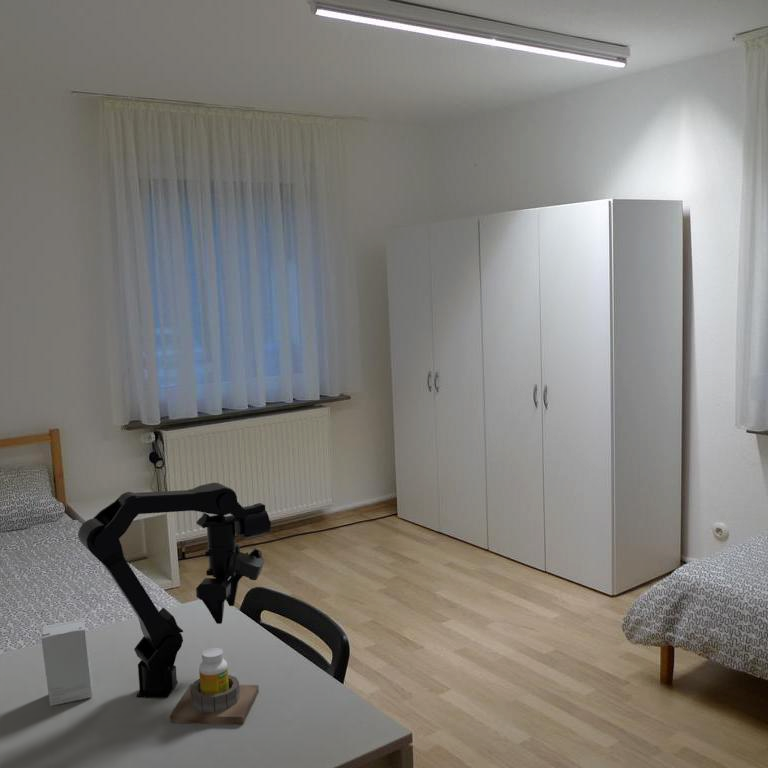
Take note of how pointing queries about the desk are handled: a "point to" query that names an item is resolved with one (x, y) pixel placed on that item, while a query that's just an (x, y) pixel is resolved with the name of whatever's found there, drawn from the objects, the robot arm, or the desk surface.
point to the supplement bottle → (213, 672)
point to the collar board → (217, 716)
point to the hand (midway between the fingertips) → (225, 614)
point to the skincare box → (67, 662)
